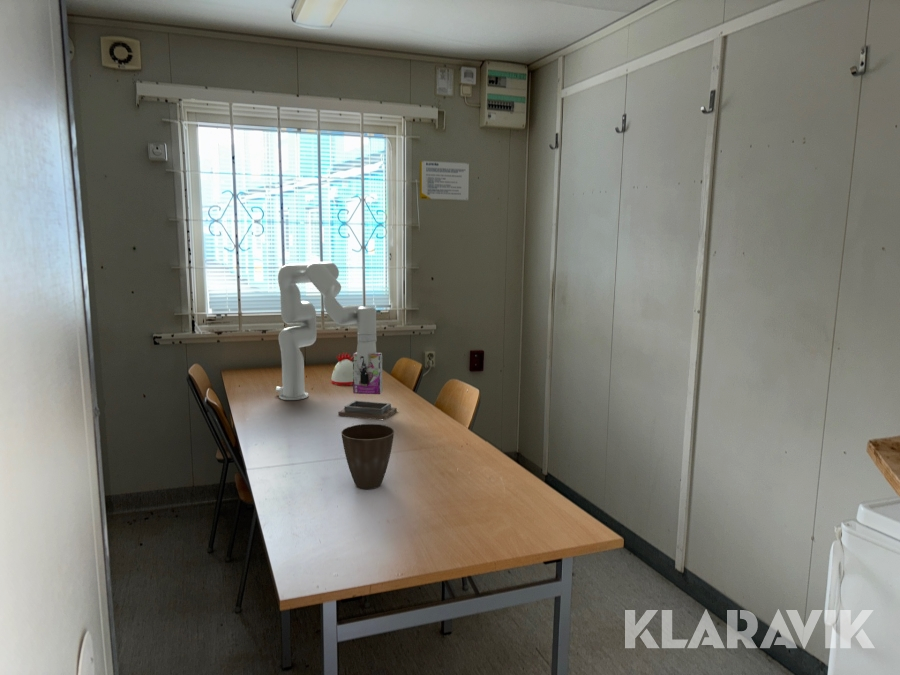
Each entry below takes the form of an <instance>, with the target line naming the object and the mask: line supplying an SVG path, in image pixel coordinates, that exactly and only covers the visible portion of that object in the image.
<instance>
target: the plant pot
mask: <svg viewBox="0 0 900 675" xmlns="http://www.w3.org/2000/svg"><path fill="white" fill-rule="evenodd" d="M394 434H395V430H394V429H393V427H391V426H388V425H384V424H377V423H363V424H357V425H356V424H355V425H351V426H348V427H346V428H343V430H341V439H342V444H343V449H344V450H343V451H344V454H345V459H346V463H347V465H348V466H347V467H348V469H349V472H350V476H351V478H352V481H353V482H354V485H355V487H356V488H358V489H361V490H374V489H377V488H379V487H381V485H382V484H383V480H384V479H385V476H386V471H387V469H388V465H389V462H390V458H391V457H390V456H391V454H392V446H393V442H394V436H395V435H394Z"/></svg>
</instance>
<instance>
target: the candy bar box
mask: <svg viewBox="0 0 900 675" xmlns="http://www.w3.org/2000/svg"><path fill="white" fill-rule="evenodd" d="M352 356H353V359H352V362H353V385H352V388H353V390H352V392H353V394H358V395H361V394H362V395H381V394H382V392H383V353H382V352H376V353H373V354H371V361H370V366H369V367H368V372H367V374H368V384H361V380H360V370H359V368H358V366H357V351H356V352H353V353H352ZM363 366H365V365H363ZM364 369H366V368H364Z"/></svg>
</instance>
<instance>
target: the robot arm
mask: <svg viewBox="0 0 900 675" xmlns="http://www.w3.org/2000/svg"><path fill="white" fill-rule="evenodd" d="M339 275H340V271H339V267H338V266H337V265H336V264H335V263H334V262H333V261H332V262H331V261H317V262H299V263H298V262H297V263H295V262H294V263H288V264H285V265H283V266H281V268H280V269H279V271H278V274H277V281H278V287H279V293H280V315H281V320H282V322H283V323H285V324H286V325H292V324H293V325H294V324H295V325H296V324H299V325H296V326H290V327H288V326H287V327H285V328H283V329H281V331H280V332H279V333H278V338H277V340H278V344H279V349H280V357H281V376H282V377H281V380H282V384H281V385H282V386H276V388H275V392H276V393H277V392H279V393H280V394H279V395H278V396H279V399H280V400H284V401H298V400H299V401H301V400H304V399H307V398H308V397H309V393H308V392H307V391H305V387H306V386H305V362H304V360H305V358H304V355H303V352H302V351H301V348H304V347H310V346H312V345H314V343H315V342H316V341H317V334H318V333H317V311H316V308H315V306H314V304H313V303H311V302H310V301H308V300H302V299H301V291H300V289H299V287H298V285H297V284H306V283H312V285H313V286H314V287H315V288H316V289H317V290H318V292H319V293H320V294H321V295H322V297H323V306H324V309H325V312H326V313H327V315H328V316H329V317H330V319H331V320H332V321H333V322H334V323H336V324H337V325H339V326H347V325H355V324H357V325H356V326H357V328H356V329H357V330H356V332H357V346H356V352H357V366H358V368H359V370H360V380H361V384H368V374H367V372H368V367H369V366H370V361H371V354H373V353H377V311H376V310H377V309H376V308H375V307H373V306H365V305H364V306H363V305H361V304H354V305H353V304H352V305H344V306H342V305H341V304H340V303H339V301H338V300H337V298H336V297H338V295H339V294H340V292H341V290H342V286H341V283H340V282H339V281H338V280H337V279H338V278H339ZM363 365H365V366H363ZM364 368H366V369H364Z"/></svg>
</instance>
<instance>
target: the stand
mask: <svg viewBox="0 0 900 675" xmlns="http://www.w3.org/2000/svg"><path fill="white" fill-rule="evenodd" d="M343 407H344V408H343V409H341V410H339V411H338V415H340V416H339V417H348V416H350V417H349V418H351V417H352V418H358V417H361V419H369V418H371V420H379V419H383V420H382V421H385V420H387V419H388V418H390V417H391V416H392V415H394V414H395V413H397V410H398V409H397V407H393V406H392V404H391V403H386V402H377V401H366V400H365V401H364V400H354V401H352V402H350V403H348V404H347V405H345V406H343ZM394 412H395V413H394ZM393 413H394V414H393ZM389 416H390V417H389ZM386 418H387V419H386Z"/></svg>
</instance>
